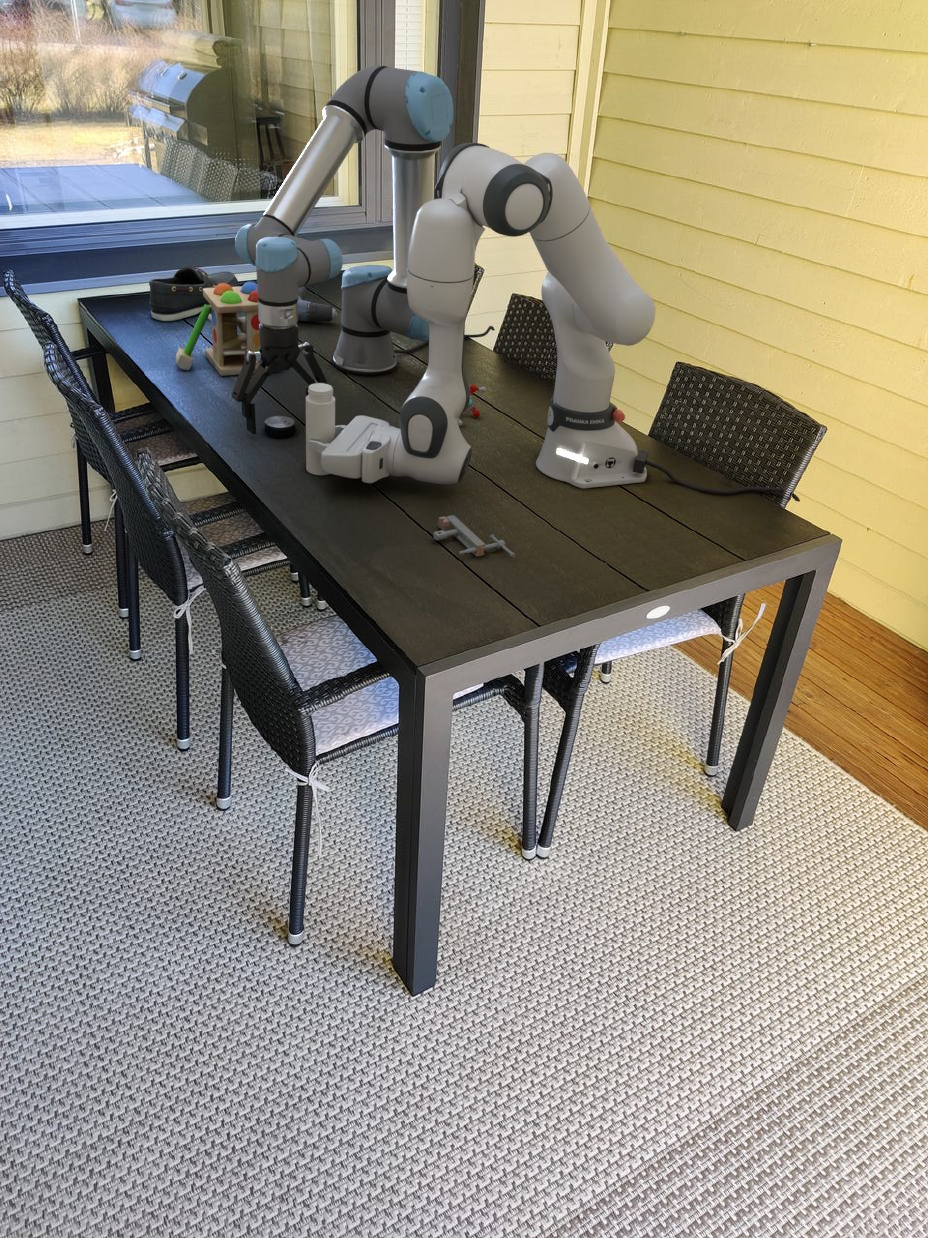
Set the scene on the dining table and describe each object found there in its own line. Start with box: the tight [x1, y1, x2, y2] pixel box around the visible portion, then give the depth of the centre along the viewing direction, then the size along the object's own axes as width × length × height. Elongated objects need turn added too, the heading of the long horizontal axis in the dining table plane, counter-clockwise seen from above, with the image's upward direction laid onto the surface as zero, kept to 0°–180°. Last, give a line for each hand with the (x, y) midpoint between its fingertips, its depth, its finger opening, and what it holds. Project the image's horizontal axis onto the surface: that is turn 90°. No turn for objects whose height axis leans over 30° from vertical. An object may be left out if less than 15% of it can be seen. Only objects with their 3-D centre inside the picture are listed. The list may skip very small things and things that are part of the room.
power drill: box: [298, 286, 338, 322], centre depth 265 cm, size 5×19×20 cm
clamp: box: [433, 515, 517, 559], centre depth 169 cm, size 15×2×10 cm
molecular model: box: [457, 384, 487, 427], centre depth 214 cm, size 12×10×10 cm
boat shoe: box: [148, 265, 240, 322], centre depth 262 cm, size 13×33×10 cm, turn 147°
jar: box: [305, 383, 336, 476], centre depth 185 cm, size 5×5×16 cm
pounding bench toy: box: [174, 281, 275, 377], centre depth 225 cm, size 23×14×18 cm, turn 116°
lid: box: [264, 415, 296, 439], centre depth 201 cm, size 6×6×2 cm
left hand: (281, 425), depth 202 cm, fingers open, 13 cm apart
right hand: (315, 436), depth 186 cm, fingers closed on jar, 5 cm apart
